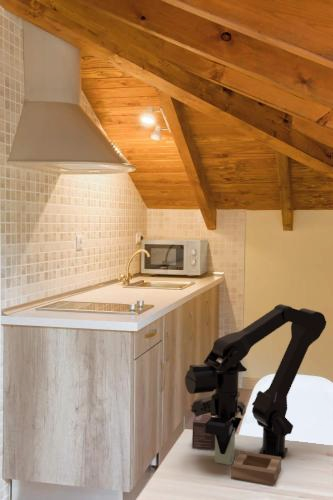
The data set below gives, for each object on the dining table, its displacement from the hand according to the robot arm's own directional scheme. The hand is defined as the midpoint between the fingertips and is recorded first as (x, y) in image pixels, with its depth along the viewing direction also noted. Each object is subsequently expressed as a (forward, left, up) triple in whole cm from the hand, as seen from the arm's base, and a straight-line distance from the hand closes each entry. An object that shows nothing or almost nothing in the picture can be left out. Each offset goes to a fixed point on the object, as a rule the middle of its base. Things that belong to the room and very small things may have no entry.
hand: (224, 450), depth 156 cm
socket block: (+5, +9, -3) cm, 10 cm away
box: (-8, -8, -3) cm, 11 cm away
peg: (0, 0, -2) cm, 2 cm away
